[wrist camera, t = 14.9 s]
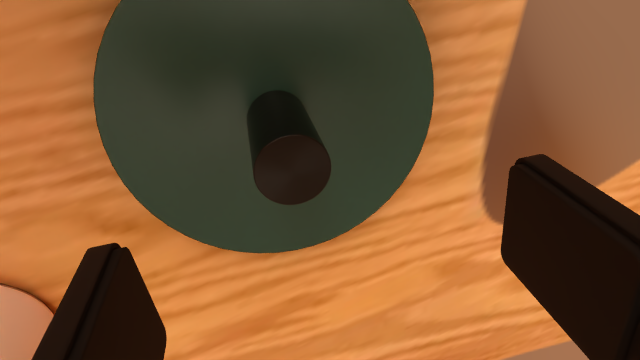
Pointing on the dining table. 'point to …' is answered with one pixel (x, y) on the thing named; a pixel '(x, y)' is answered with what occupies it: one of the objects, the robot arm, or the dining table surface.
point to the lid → (263, 113)
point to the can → (21, 323)
